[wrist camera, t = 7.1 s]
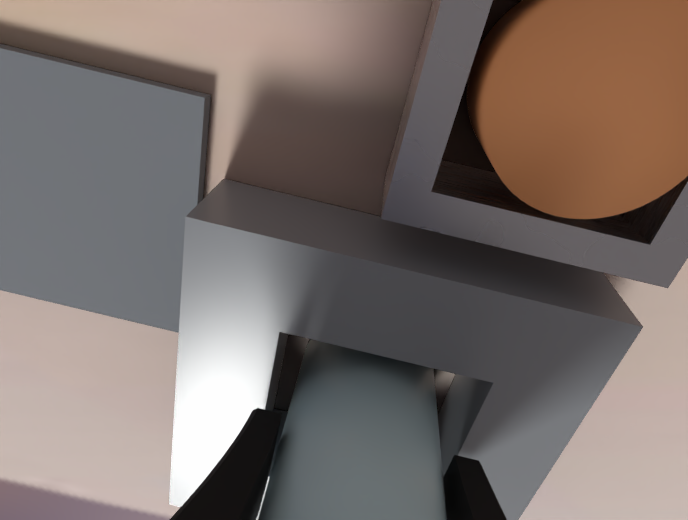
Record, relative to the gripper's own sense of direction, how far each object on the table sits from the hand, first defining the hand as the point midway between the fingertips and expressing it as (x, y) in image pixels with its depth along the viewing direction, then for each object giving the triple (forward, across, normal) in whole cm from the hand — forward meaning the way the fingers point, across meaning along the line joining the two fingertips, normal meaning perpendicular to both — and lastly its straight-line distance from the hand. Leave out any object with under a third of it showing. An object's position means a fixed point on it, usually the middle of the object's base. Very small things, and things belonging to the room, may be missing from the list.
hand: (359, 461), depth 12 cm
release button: (+3, -2, -9) cm, 10 cm away
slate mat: (+3, +9, -4) cm, 10 cm away
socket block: (+3, 0, 0) cm, 3 cm away
